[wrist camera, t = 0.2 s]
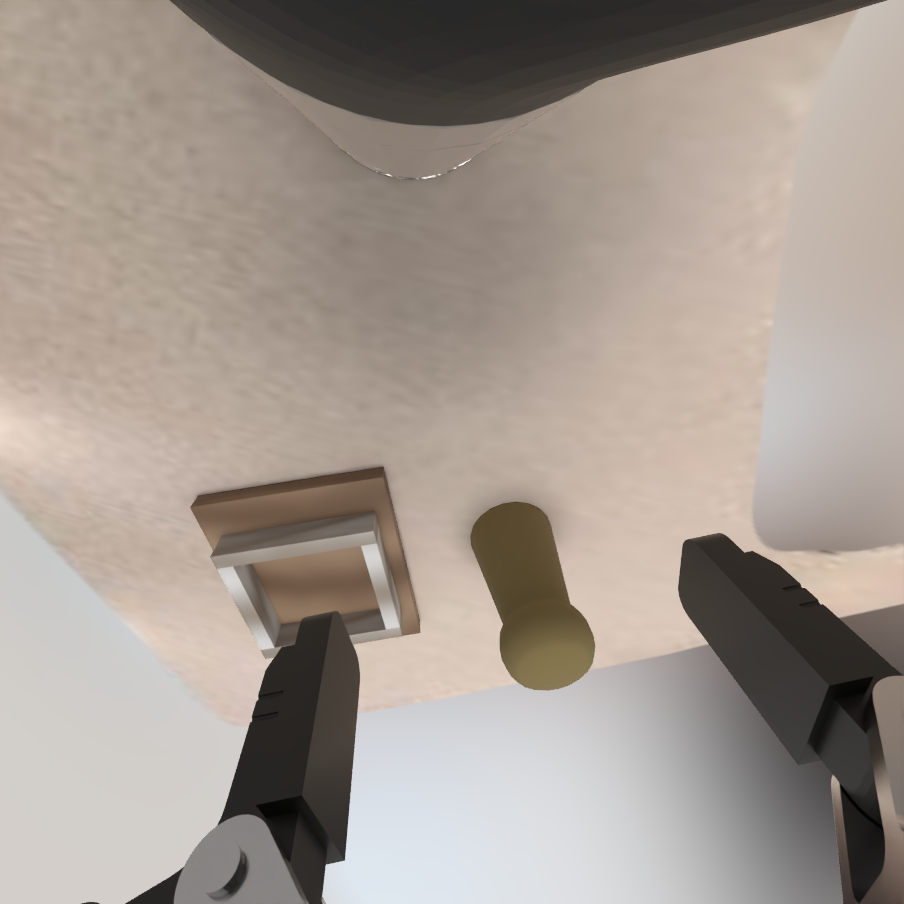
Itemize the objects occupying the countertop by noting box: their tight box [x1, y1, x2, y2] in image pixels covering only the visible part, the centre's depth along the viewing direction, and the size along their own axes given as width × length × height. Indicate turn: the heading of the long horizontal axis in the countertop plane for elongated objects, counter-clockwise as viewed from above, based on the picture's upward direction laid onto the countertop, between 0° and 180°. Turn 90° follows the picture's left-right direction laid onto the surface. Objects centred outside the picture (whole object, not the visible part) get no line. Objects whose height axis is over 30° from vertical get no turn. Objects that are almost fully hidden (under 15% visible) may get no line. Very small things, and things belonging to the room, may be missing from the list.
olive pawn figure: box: [471, 502, 595, 690], centre depth 28 cm, size 6×6×11 cm
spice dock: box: [190, 467, 420, 659], centre depth 31 cm, size 15×12×3 cm
